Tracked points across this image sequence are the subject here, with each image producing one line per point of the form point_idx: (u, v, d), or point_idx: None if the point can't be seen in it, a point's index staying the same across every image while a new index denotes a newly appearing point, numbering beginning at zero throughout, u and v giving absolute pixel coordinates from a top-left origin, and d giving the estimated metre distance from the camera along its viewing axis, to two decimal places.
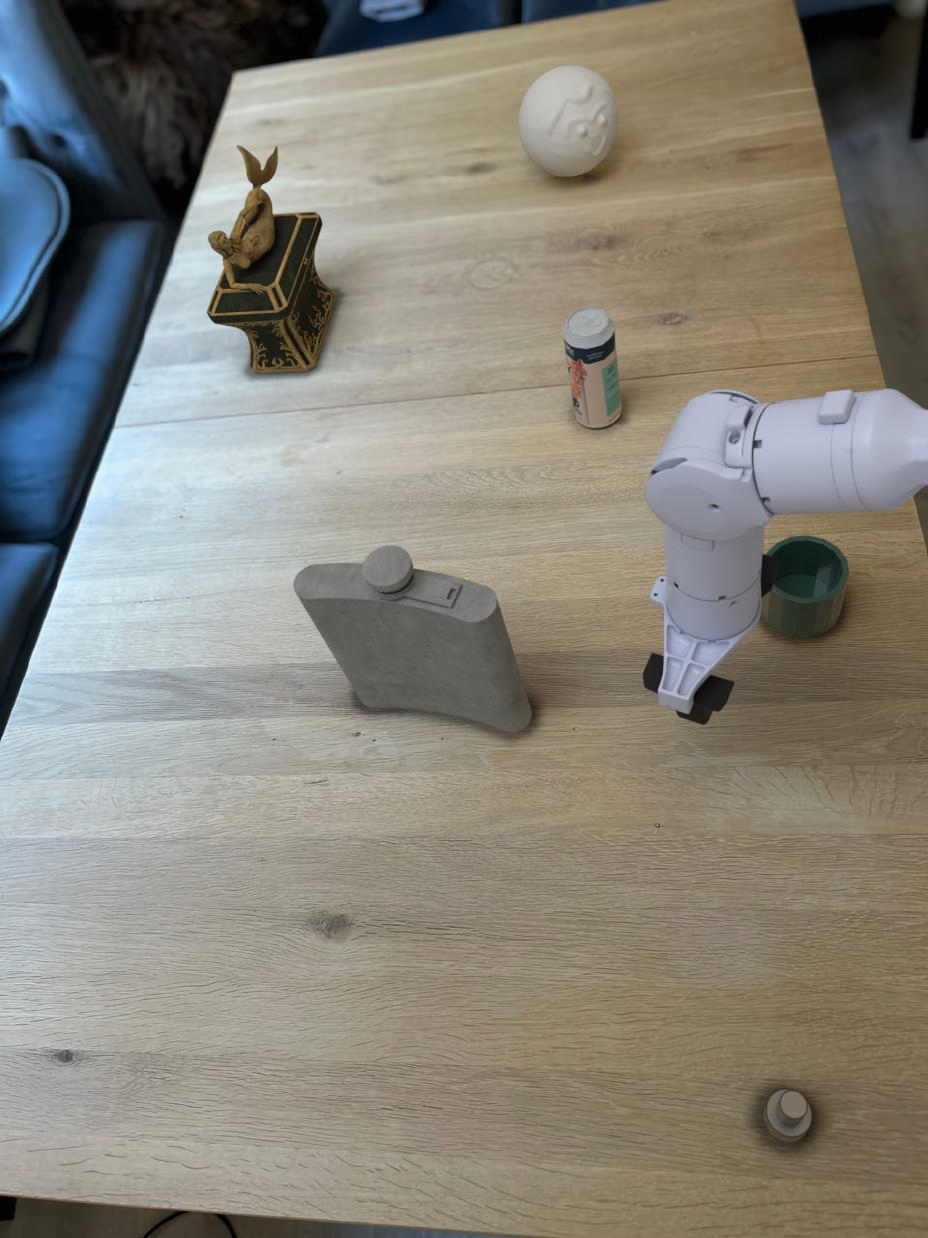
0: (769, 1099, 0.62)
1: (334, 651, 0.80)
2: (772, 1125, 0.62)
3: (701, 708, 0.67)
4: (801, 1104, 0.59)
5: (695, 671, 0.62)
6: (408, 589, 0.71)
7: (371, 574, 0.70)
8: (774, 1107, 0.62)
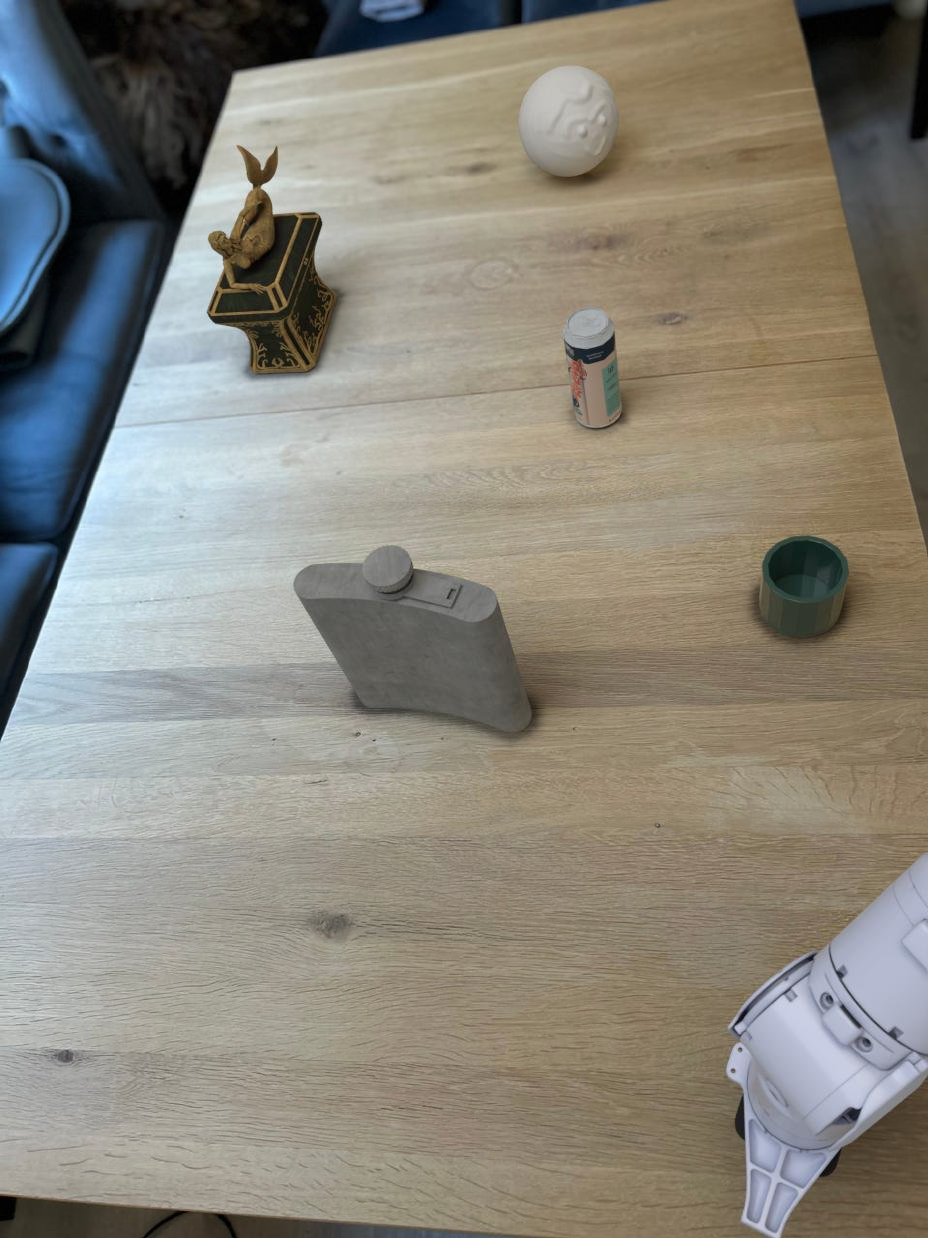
0: None
1: (334, 651, 0.80)
2: None
3: None
4: None
5: (785, 1191, 0.52)
6: (408, 589, 0.71)
7: (371, 574, 0.70)
8: None
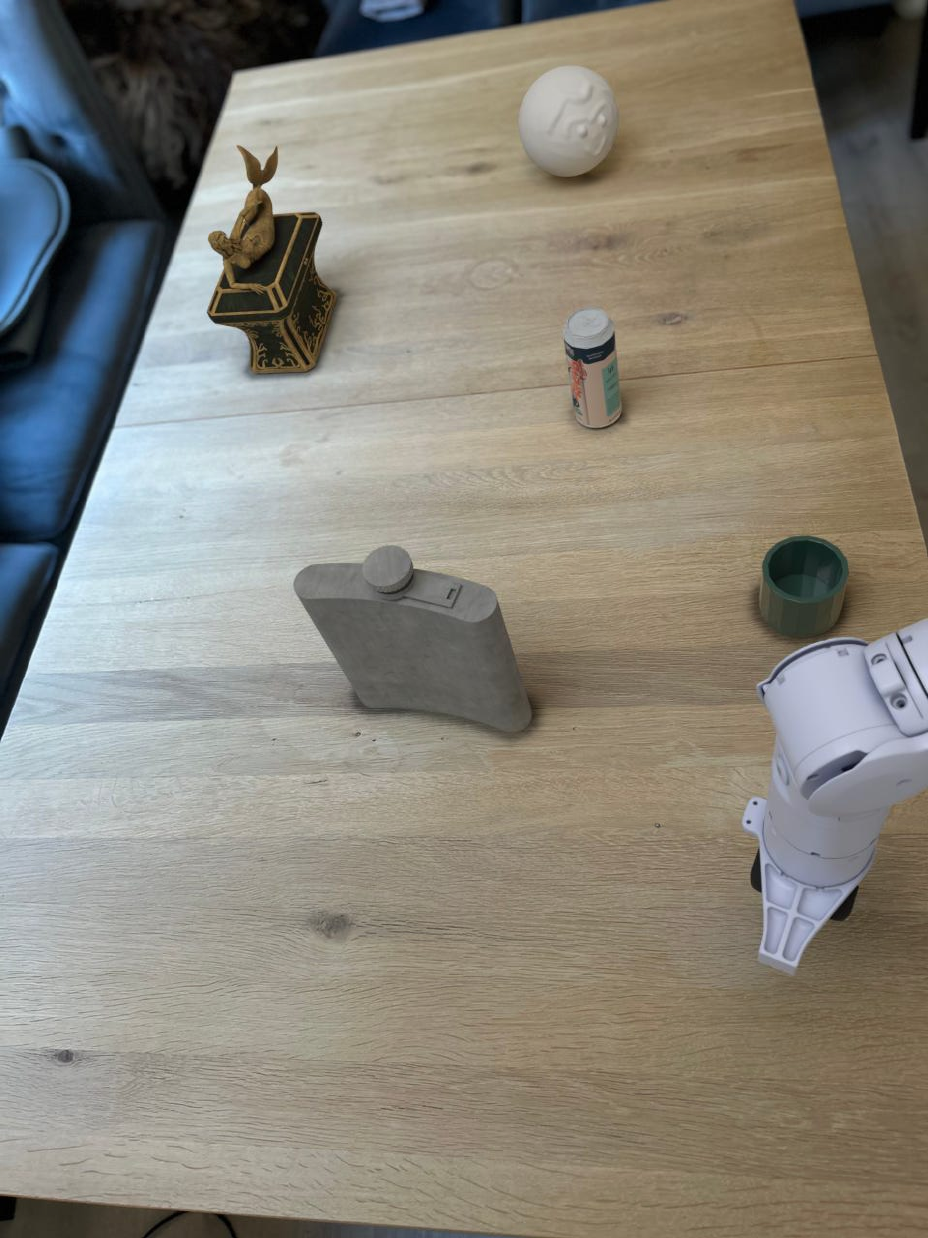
0: None
1: (334, 651, 0.80)
2: None
3: None
4: None
5: (801, 926, 0.52)
6: (408, 589, 0.71)
7: (371, 574, 0.70)
8: None
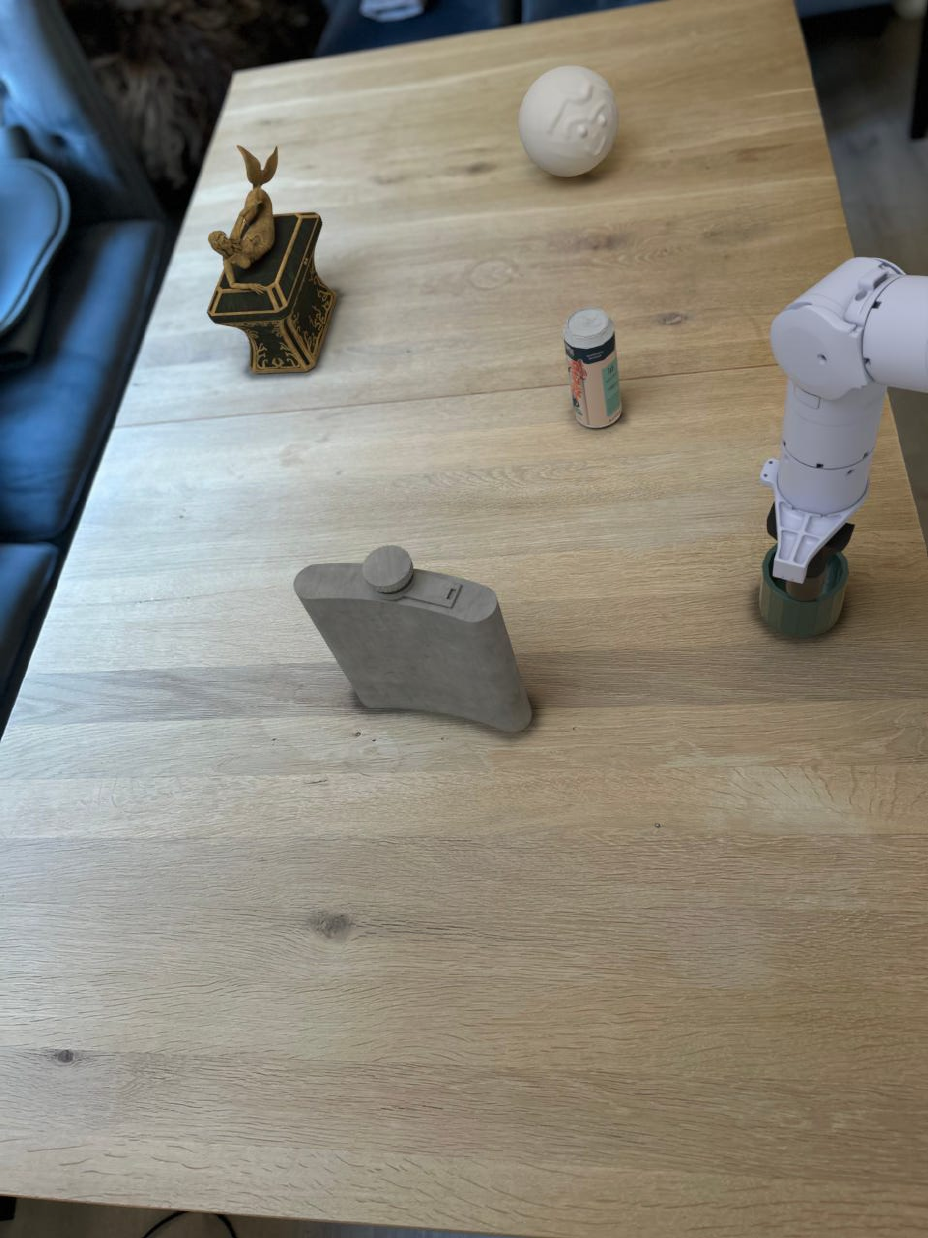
0: None
1: (334, 651, 0.80)
2: None
3: (817, 557, 0.71)
4: None
5: (809, 542, 0.65)
6: (408, 589, 0.71)
7: (371, 574, 0.70)
8: None
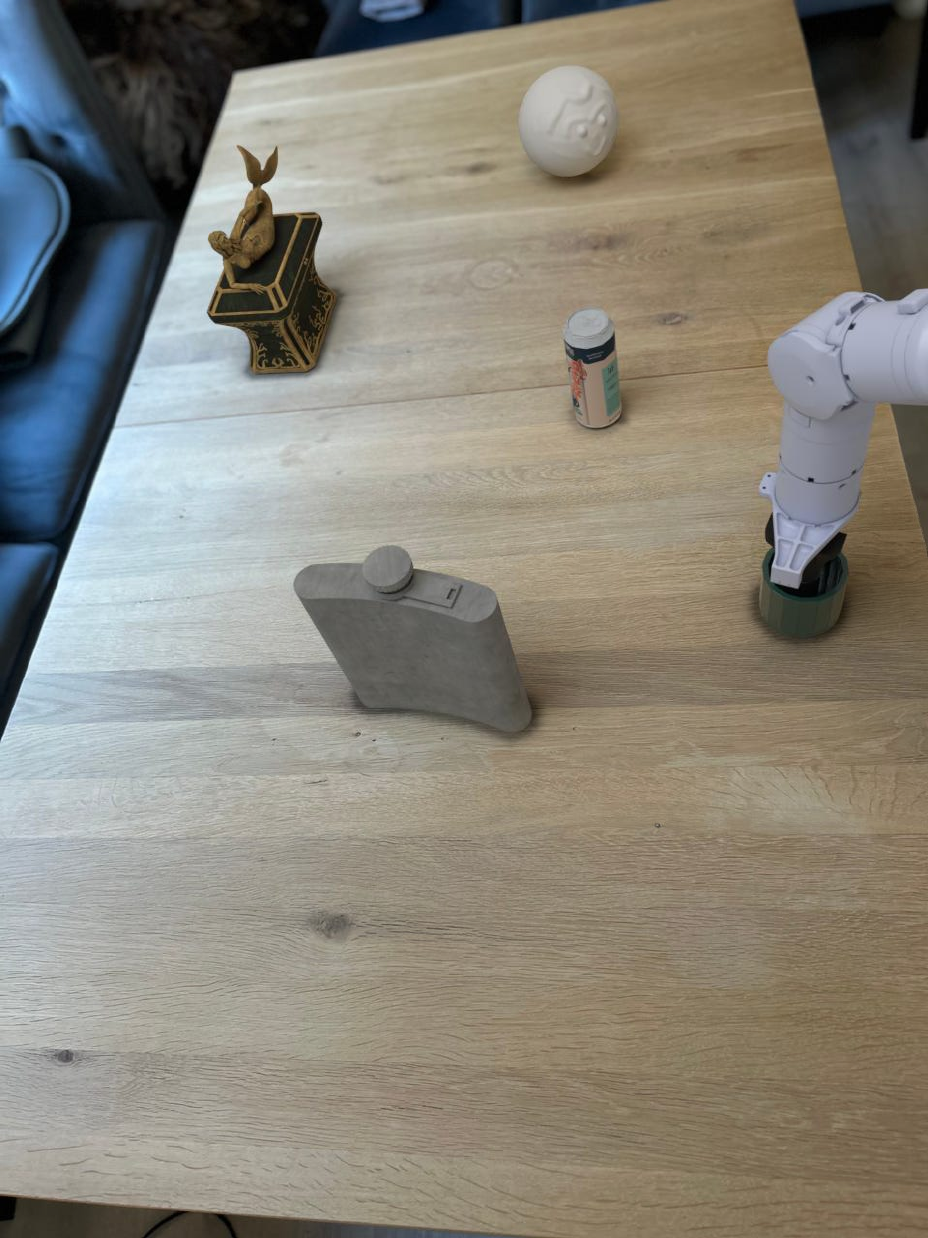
0: None
1: (334, 651, 0.80)
2: None
3: (812, 564, 0.77)
4: None
5: (804, 550, 0.70)
6: (408, 589, 0.71)
7: (371, 574, 0.70)
8: None
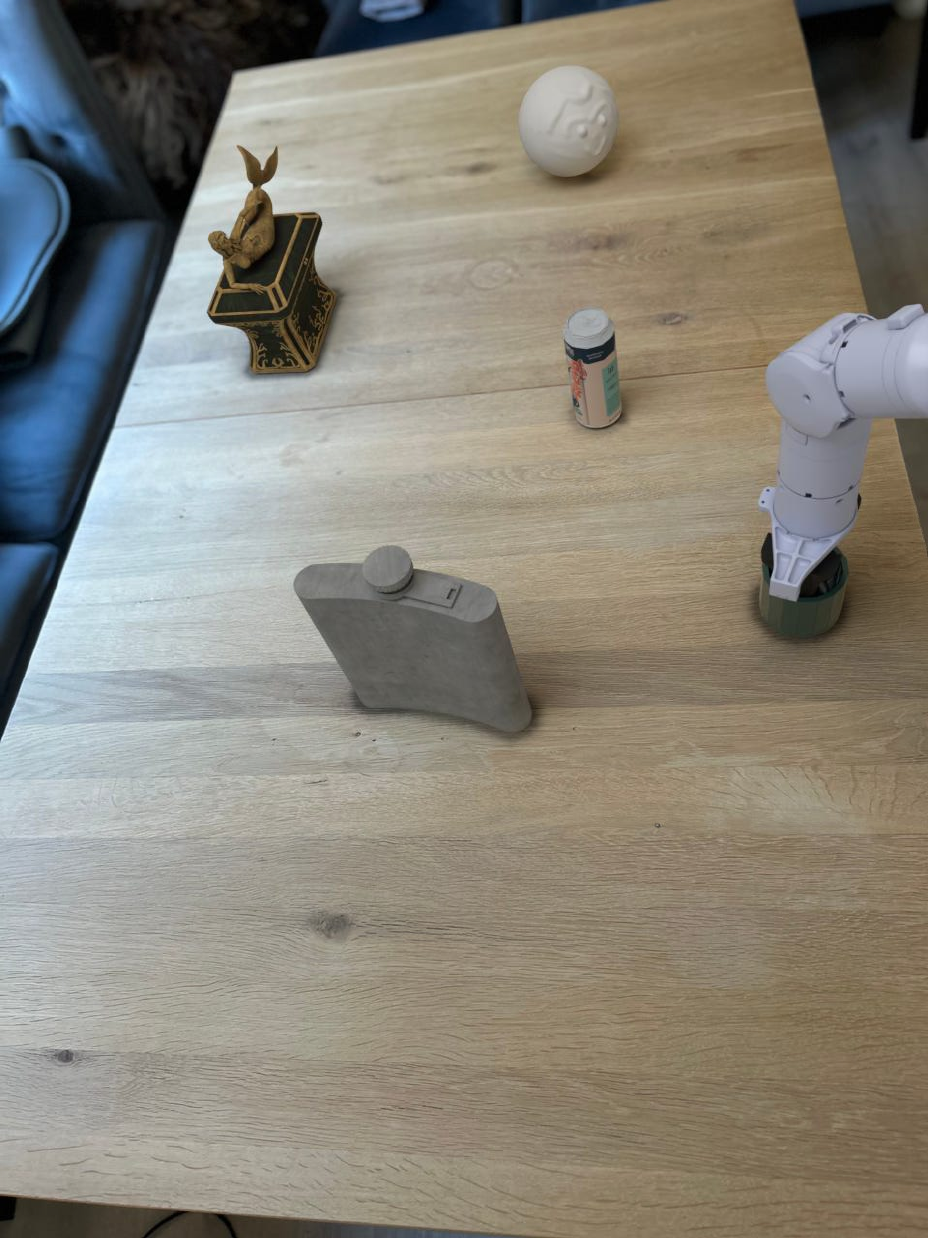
0: None
1: (334, 651, 0.80)
2: None
3: (808, 583, 0.78)
4: None
5: (802, 564, 0.72)
6: (408, 589, 0.71)
7: (371, 574, 0.70)
8: None
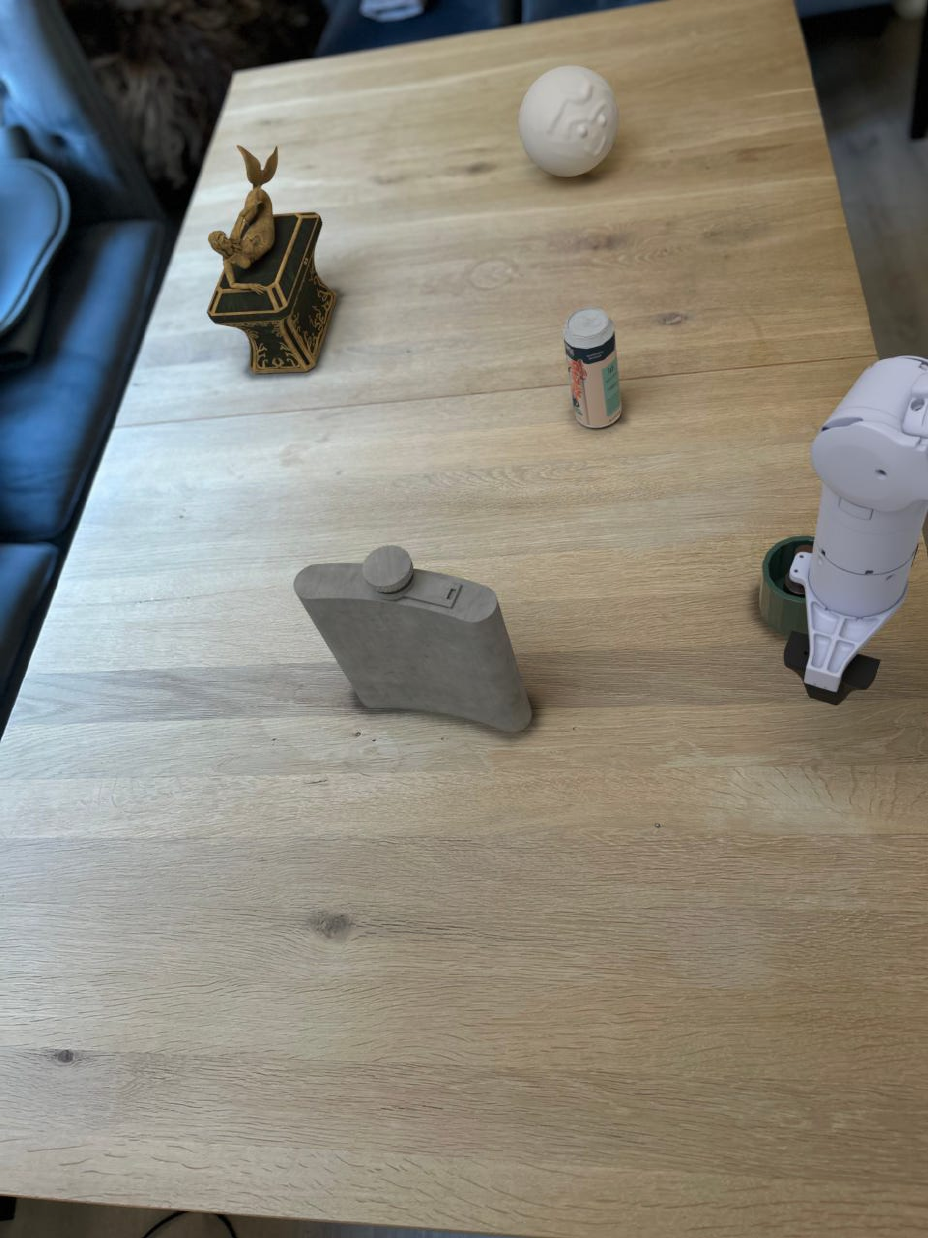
0: (786, 573, 0.82)
1: (334, 651, 0.80)
2: (789, 588, 0.81)
3: (838, 688, 0.66)
4: (811, 551, 0.78)
5: (843, 648, 0.61)
6: (408, 589, 0.71)
7: (371, 574, 0.70)
8: None
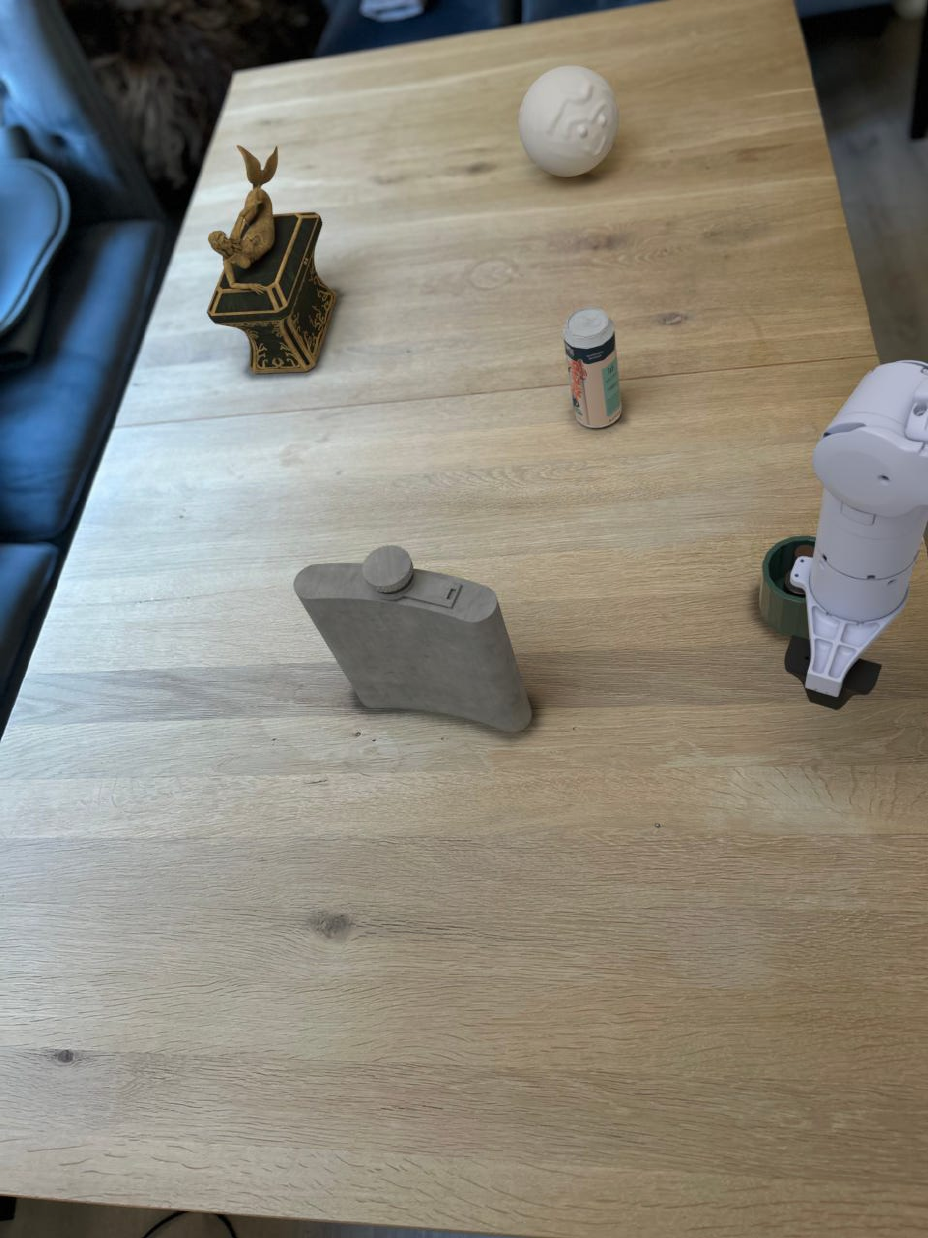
0: (786, 573, 0.82)
1: (334, 651, 0.80)
2: (789, 588, 0.81)
3: (839, 692, 0.66)
4: (811, 551, 0.78)
5: (844, 653, 0.60)
6: (408, 589, 0.71)
7: (371, 574, 0.70)
8: None
